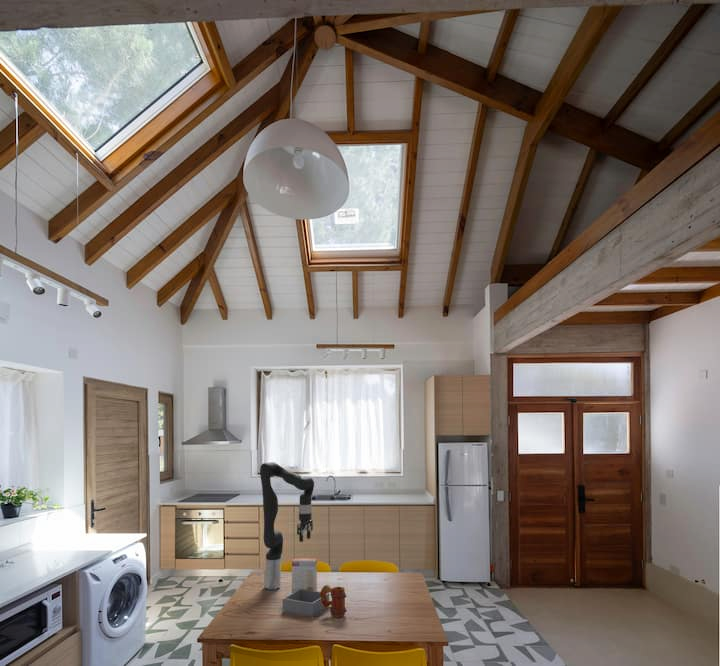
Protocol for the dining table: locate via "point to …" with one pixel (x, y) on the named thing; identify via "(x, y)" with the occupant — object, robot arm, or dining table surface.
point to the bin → (304, 603)
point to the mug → (334, 600)
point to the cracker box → (304, 574)
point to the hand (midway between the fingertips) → (304, 540)
